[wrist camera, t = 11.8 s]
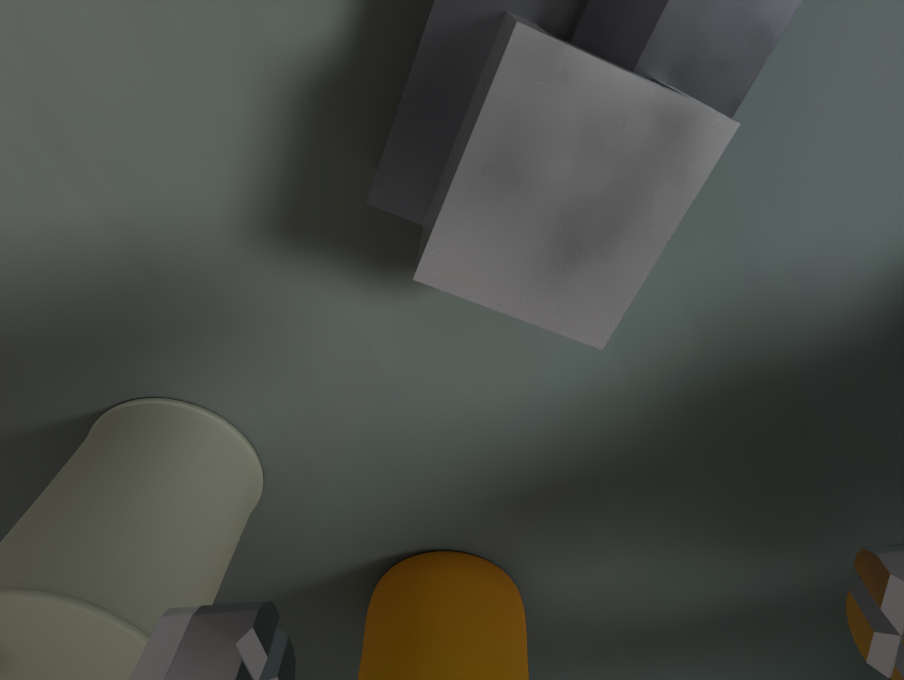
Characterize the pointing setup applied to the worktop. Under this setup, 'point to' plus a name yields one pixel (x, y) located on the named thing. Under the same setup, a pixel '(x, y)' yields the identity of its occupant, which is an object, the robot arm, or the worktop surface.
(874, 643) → the robot arm
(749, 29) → the base
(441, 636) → the beer bottle
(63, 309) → the worktop surface
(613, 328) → the notched grey block
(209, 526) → the can
